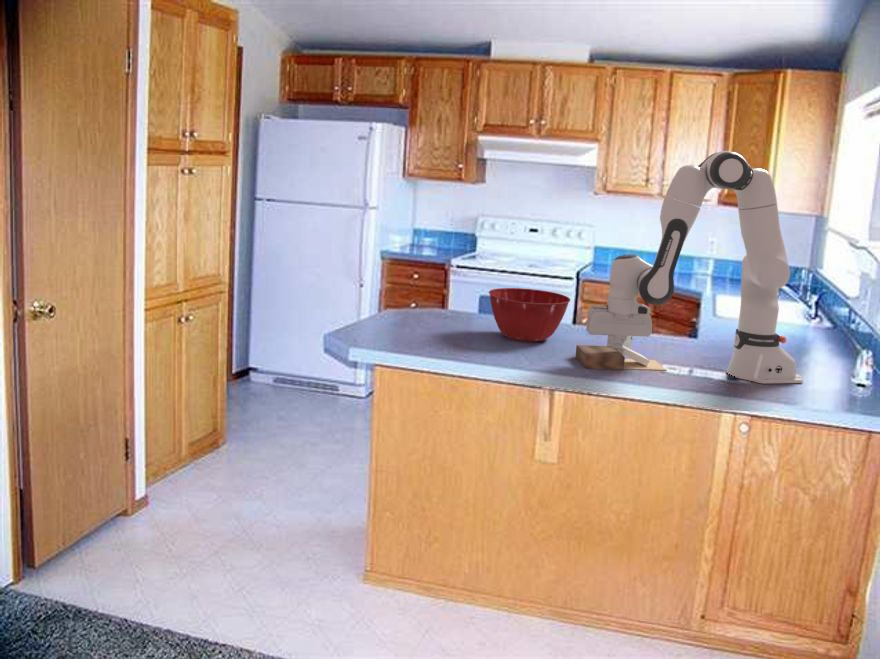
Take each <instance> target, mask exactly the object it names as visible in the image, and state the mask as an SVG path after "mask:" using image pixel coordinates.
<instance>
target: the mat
mask: <svg viewBox="0 0 880 659" xmlns="http://www.w3.org/2000/svg"><path fill="white" fill-rule="evenodd" d="M649 360H650V362H649V364H648V366H645V365H643V364H641V363H639V362H637V361H635V360H633V359H631V358H625V361H624V370H639V371H640V370H641V371H644V370H645V371H661V370H667V368H665V367H664V366H663V365H662V364H661V363H659V362H658V361H657V360H655V359H649Z"/></svg>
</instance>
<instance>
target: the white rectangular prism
mask: <svg viewBox="0 0 880 659" xmlns="http://www.w3.org/2000/svg"><path fill="white" fill-rule="evenodd" d="M618 351H619V352H620V353H622V354H623V356H624V357H627V358H628V359H633V360H635V361H637V362H639V363H641V364H643V365H645V366H648V364H649V362H650V360H651V359H648V358H647V357H646V356H645V355H643V354H640V353H639V352H637V351H635V350H632V348H631V349H629V348H627V347H625V346H622V350H618Z"/></svg>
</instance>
